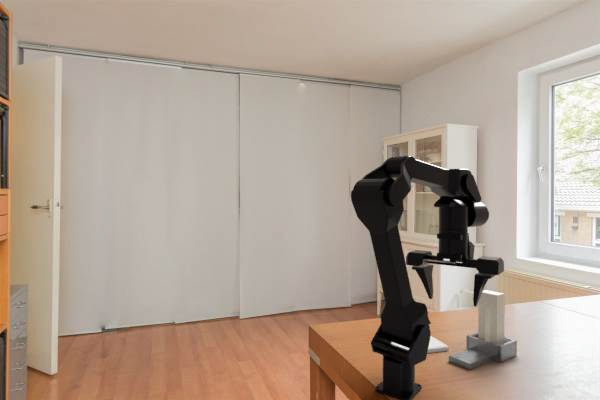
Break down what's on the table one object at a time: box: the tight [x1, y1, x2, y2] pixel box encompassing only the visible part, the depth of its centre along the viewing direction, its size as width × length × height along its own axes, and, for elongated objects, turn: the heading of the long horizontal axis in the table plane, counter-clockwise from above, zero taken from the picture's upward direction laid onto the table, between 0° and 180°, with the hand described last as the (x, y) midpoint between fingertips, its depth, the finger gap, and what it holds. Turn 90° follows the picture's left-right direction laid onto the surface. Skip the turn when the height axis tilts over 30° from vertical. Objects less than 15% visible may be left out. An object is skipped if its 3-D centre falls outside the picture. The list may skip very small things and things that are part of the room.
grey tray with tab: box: [448, 331, 518, 370], centre depth 87 cm, size 16×8×3 cm, turn 124°
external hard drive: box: [391, 335, 450, 354], centre depth 93 cm, size 2×8×12 cm
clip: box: [477, 289, 506, 345], centre depth 90 cm, size 3×4×12 cm
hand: (452, 302), depth 84 cm, fingers open, 9 cm apart
